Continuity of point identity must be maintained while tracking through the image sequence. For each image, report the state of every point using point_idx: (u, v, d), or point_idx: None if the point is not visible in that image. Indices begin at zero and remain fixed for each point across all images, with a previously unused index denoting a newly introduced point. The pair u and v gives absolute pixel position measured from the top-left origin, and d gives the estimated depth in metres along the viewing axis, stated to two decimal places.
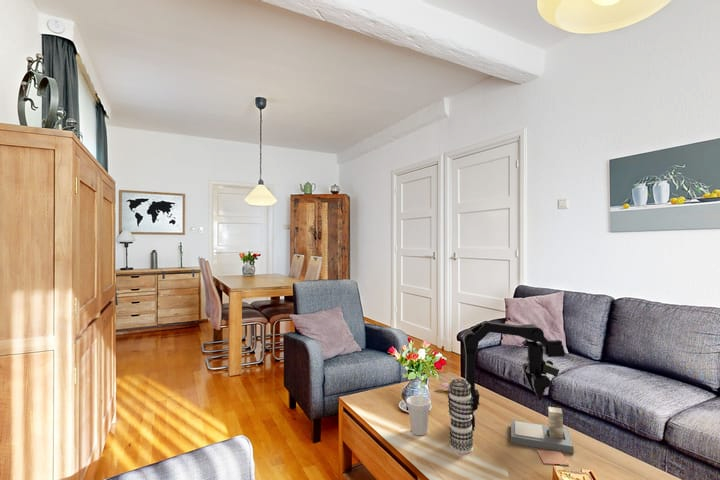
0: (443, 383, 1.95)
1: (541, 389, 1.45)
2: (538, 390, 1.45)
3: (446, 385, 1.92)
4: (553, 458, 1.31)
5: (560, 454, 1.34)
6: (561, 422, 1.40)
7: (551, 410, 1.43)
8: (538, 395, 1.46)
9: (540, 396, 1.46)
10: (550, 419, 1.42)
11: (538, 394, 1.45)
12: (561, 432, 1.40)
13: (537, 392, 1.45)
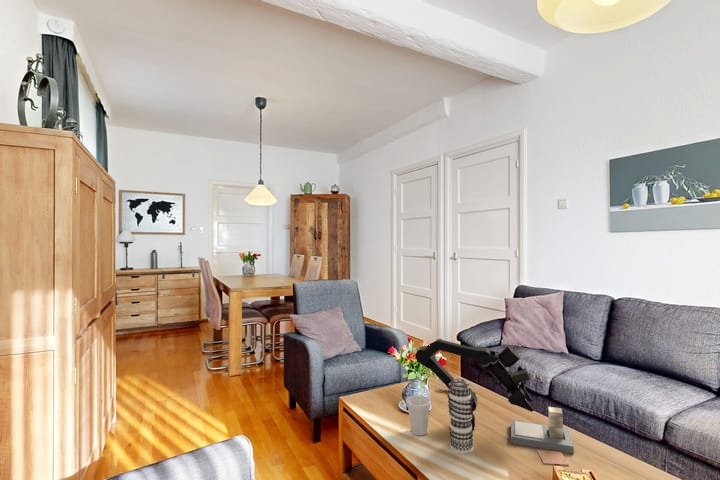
0: (443, 383, 1.95)
1: (524, 401, 1.42)
2: (522, 404, 1.42)
3: None
4: (553, 458, 1.31)
5: (560, 454, 1.34)
6: (561, 422, 1.40)
7: (551, 410, 1.43)
8: (527, 408, 1.42)
9: (529, 408, 1.42)
10: (550, 419, 1.42)
11: (525, 407, 1.42)
12: (561, 432, 1.40)
13: (523, 406, 1.42)
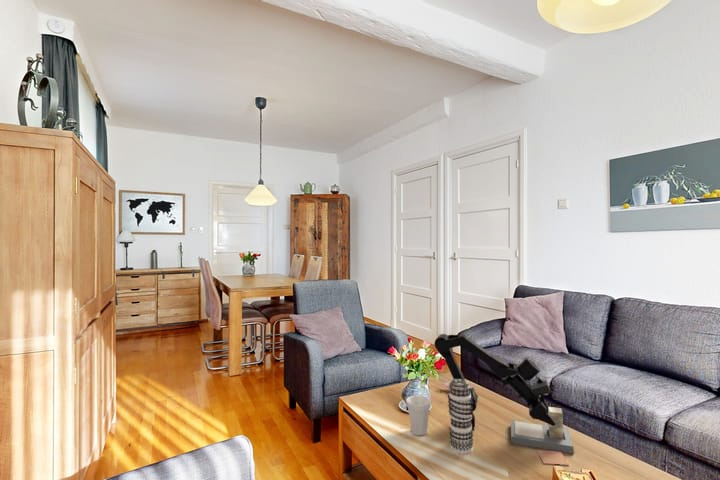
0: (444, 383, 1.95)
1: (545, 415, 1.39)
2: (544, 418, 1.39)
3: (447, 385, 1.92)
4: (553, 458, 1.31)
5: (560, 454, 1.34)
6: (561, 422, 1.40)
7: (551, 410, 1.43)
8: (548, 422, 1.39)
9: (551, 422, 1.39)
10: None
11: (547, 421, 1.39)
12: (561, 432, 1.40)
13: (545, 421, 1.39)
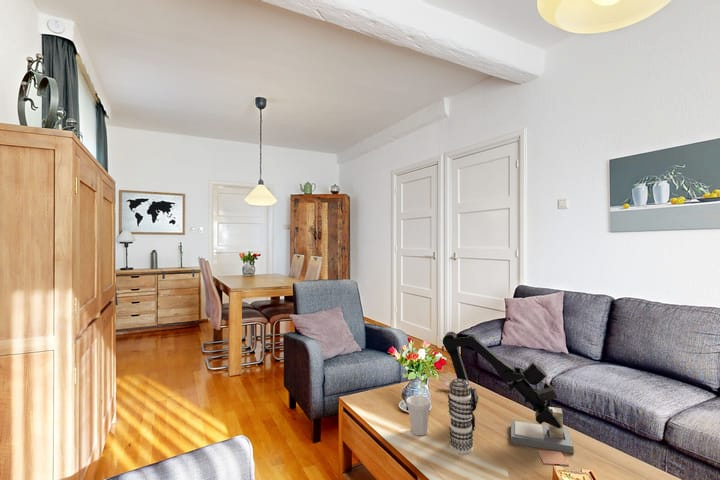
0: (445, 382, 1.95)
1: (551, 418, 1.40)
2: (550, 421, 1.41)
3: (447, 385, 1.92)
4: (553, 458, 1.31)
5: (560, 454, 1.34)
6: (561, 422, 1.40)
7: None
8: (554, 425, 1.40)
9: (557, 424, 1.40)
10: None
11: (553, 424, 1.40)
12: (561, 432, 1.40)
13: (551, 423, 1.40)
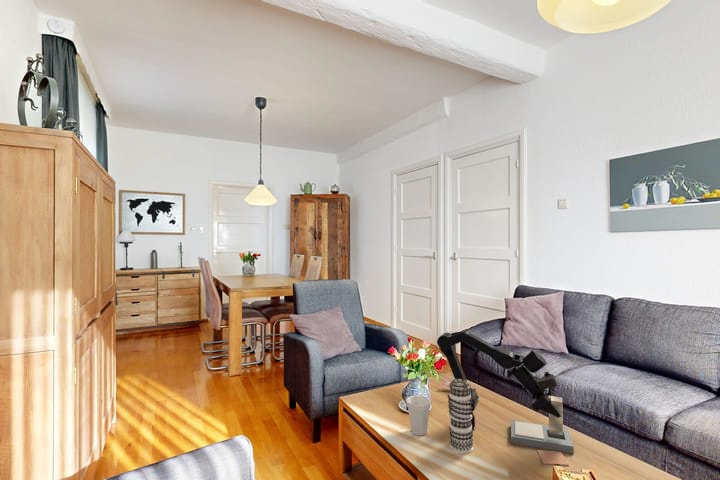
0: (446, 382, 1.95)
1: (550, 407, 1.37)
2: (548, 409, 1.37)
3: (448, 384, 1.93)
4: (553, 458, 1.31)
5: (560, 454, 1.34)
6: (560, 411, 1.36)
7: (551, 399, 1.39)
8: (553, 414, 1.37)
9: (556, 413, 1.36)
10: None
11: (552, 413, 1.37)
12: (560, 421, 1.37)
13: (549, 412, 1.37)
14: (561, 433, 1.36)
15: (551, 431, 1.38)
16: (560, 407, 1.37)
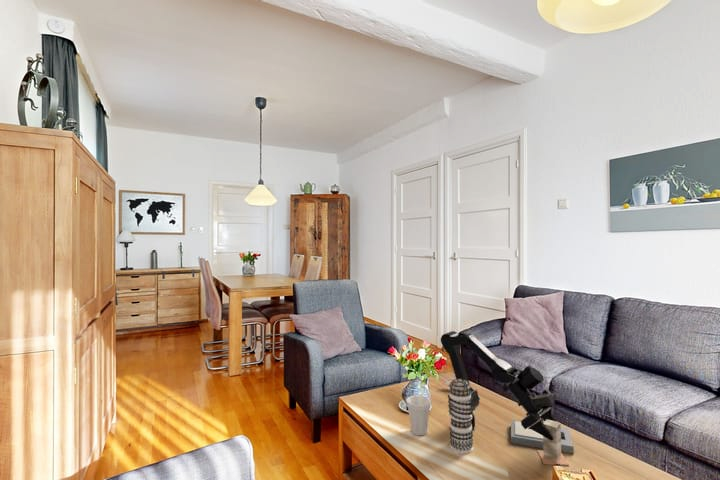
0: (447, 382, 1.96)
1: (541, 428, 1.30)
2: (540, 430, 1.30)
3: None
4: None
5: None
6: (555, 437, 1.29)
7: (546, 422, 1.33)
8: (545, 435, 1.29)
9: (548, 435, 1.29)
10: None
11: (543, 434, 1.29)
12: (555, 448, 1.29)
13: (541, 433, 1.30)
14: (555, 460, 1.29)
15: (545, 456, 1.32)
16: (554, 432, 1.29)
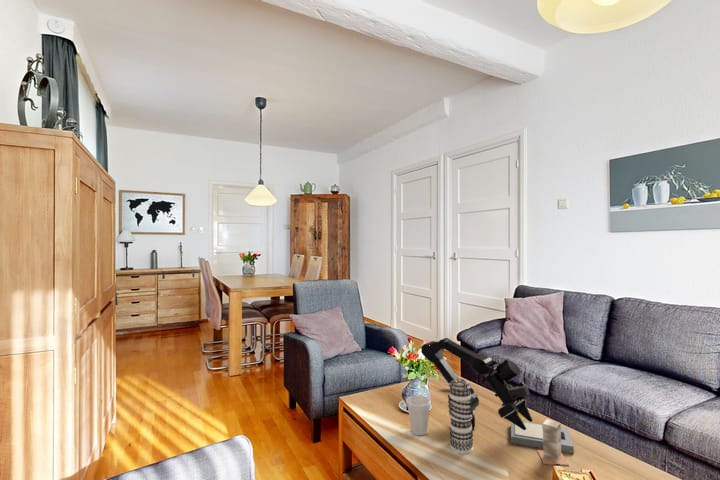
0: (447, 382, 1.95)
1: (516, 418, 1.36)
2: (514, 420, 1.36)
3: None
4: None
5: None
6: (555, 437, 1.29)
7: (546, 422, 1.33)
8: (519, 425, 1.35)
9: (521, 425, 1.35)
10: (543, 432, 1.32)
11: (517, 424, 1.35)
12: (555, 448, 1.29)
13: (515, 423, 1.36)
14: (555, 460, 1.29)
15: (545, 456, 1.32)
16: (554, 432, 1.29)
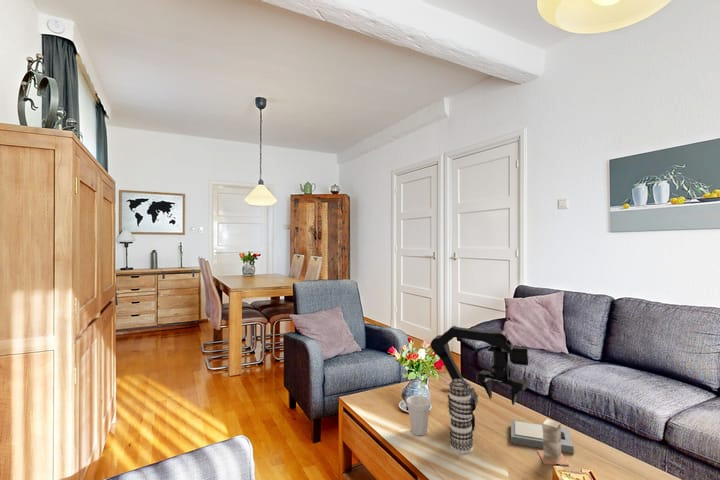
0: (448, 382, 1.96)
1: (516, 393, 1.46)
2: (515, 395, 1.45)
3: None
4: None
5: None
6: (555, 437, 1.29)
7: (546, 422, 1.33)
8: (514, 400, 1.45)
9: (514, 400, 1.46)
10: (543, 432, 1.32)
11: (514, 399, 1.45)
12: (555, 448, 1.29)
13: (514, 397, 1.45)
14: (555, 460, 1.29)
15: (545, 456, 1.32)
16: (554, 432, 1.29)
